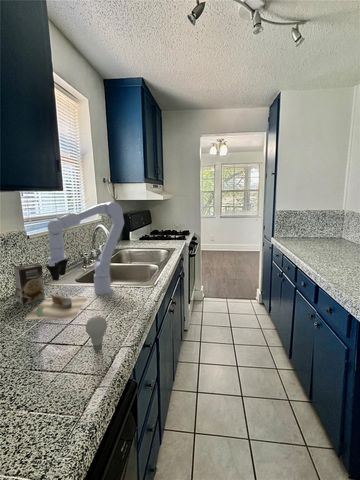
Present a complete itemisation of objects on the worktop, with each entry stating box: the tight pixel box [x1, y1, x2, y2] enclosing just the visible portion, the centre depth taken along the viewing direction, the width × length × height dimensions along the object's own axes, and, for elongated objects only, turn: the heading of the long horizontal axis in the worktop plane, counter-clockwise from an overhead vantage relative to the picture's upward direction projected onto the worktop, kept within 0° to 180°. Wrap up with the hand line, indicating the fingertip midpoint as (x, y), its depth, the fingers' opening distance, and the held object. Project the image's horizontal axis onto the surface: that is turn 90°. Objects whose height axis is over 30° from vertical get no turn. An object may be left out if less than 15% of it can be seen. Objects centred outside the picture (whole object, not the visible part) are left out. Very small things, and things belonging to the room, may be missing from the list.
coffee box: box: [13, 263, 46, 306], centre depth 110 cm, size 9×6×16 cm
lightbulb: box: [85, 315, 108, 352], centre depth 76 cm, size 6×6×11 cm
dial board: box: [24, 296, 89, 321], centre depth 104 cm, size 20×18×1 cm
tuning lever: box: [50, 294, 72, 308], centre depth 106 cm, size 12×4×3 cm, turn 60°
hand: (59, 277), depth 111 cm, fingers open, 7 cm apart
